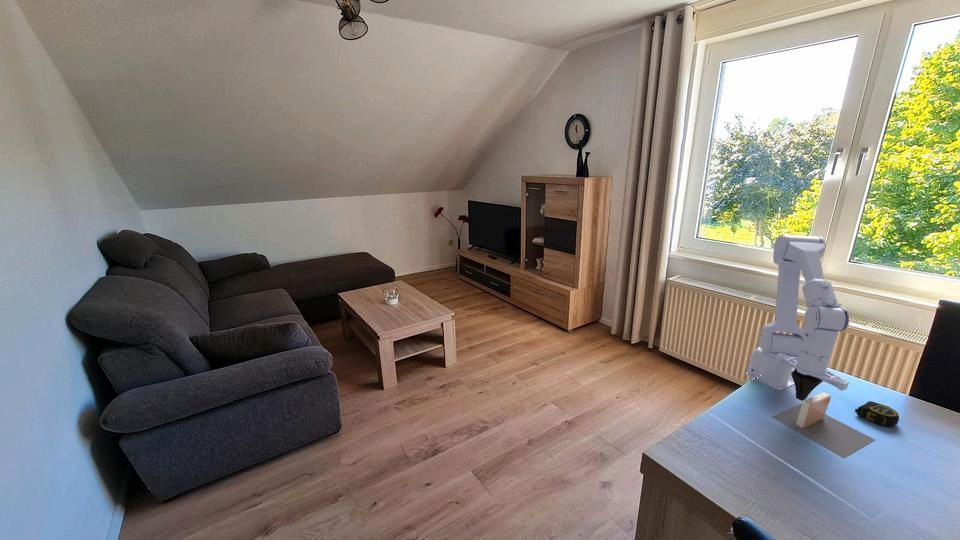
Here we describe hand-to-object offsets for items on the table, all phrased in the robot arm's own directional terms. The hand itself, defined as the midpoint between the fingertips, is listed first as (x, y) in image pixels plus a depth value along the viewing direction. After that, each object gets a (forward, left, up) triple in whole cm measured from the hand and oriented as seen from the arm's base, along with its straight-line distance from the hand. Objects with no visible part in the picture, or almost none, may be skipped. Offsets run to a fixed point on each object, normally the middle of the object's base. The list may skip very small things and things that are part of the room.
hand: (800, 398), depth 97 cm
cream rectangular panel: (+3, 0, -5) cm, 6 cm away
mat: (+6, 0, -5) cm, 8 cm away
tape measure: (+9, +17, -6) cm, 20 cm away
